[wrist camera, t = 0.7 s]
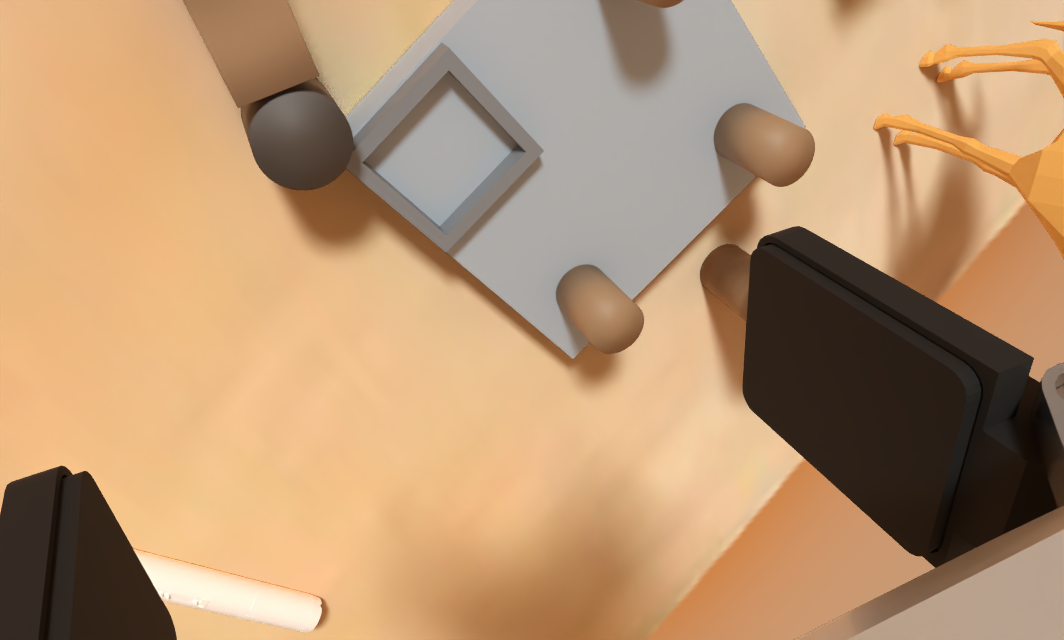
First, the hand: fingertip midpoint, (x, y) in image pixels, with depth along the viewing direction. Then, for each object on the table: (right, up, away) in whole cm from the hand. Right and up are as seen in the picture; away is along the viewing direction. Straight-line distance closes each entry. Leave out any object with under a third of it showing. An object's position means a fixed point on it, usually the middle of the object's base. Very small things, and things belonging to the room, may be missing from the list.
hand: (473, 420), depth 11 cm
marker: (-19, -11, +31) cm, 38 cm away
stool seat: (+3, +11, +27) cm, 29 cm away
